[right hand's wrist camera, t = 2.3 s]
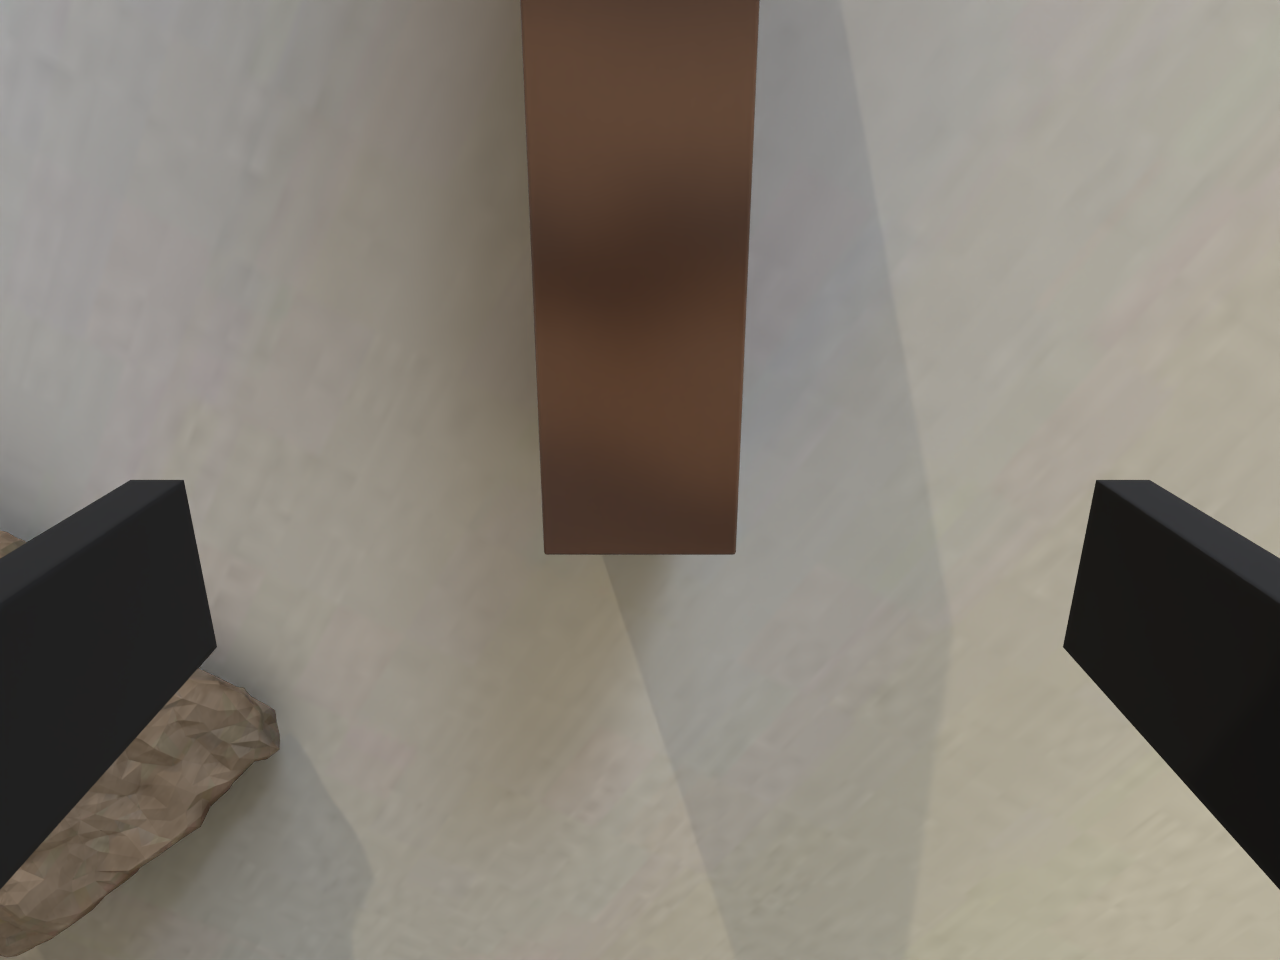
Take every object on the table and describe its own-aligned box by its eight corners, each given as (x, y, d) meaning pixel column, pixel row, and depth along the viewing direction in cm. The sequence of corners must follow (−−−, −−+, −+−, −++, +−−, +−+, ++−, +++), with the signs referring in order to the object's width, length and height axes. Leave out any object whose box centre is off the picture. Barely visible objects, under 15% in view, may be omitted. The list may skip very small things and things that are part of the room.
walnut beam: (711, 457, 29) (735, 555, 22) (568, 457, 29) (543, 555, 22) (742, -554, 20) (802, -977, 13) (536, -555, 20) (477, -976, 13)
